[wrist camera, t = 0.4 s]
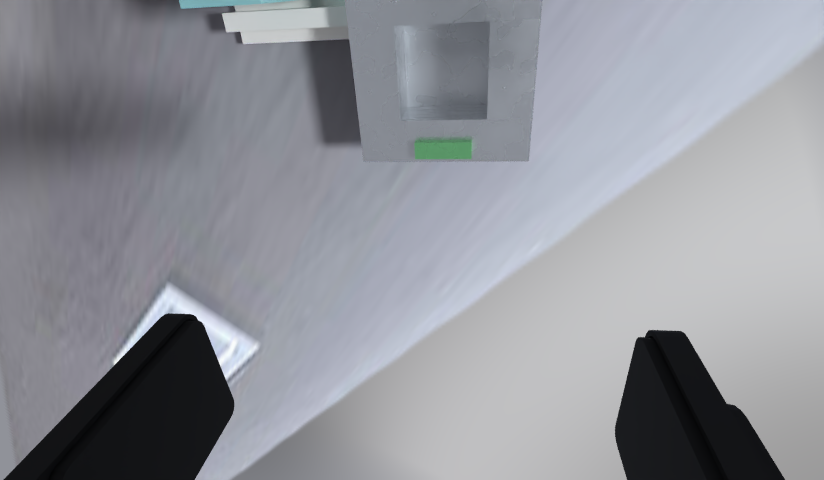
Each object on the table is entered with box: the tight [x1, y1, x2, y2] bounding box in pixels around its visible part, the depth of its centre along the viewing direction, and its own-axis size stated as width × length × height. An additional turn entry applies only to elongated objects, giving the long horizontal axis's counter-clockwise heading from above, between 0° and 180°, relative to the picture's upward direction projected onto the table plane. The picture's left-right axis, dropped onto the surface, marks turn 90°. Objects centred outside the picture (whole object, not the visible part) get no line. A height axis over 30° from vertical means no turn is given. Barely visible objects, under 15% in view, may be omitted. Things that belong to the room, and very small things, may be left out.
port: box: [345, 0, 542, 162], centre depth 30 cm, size 12×12×6 cm
